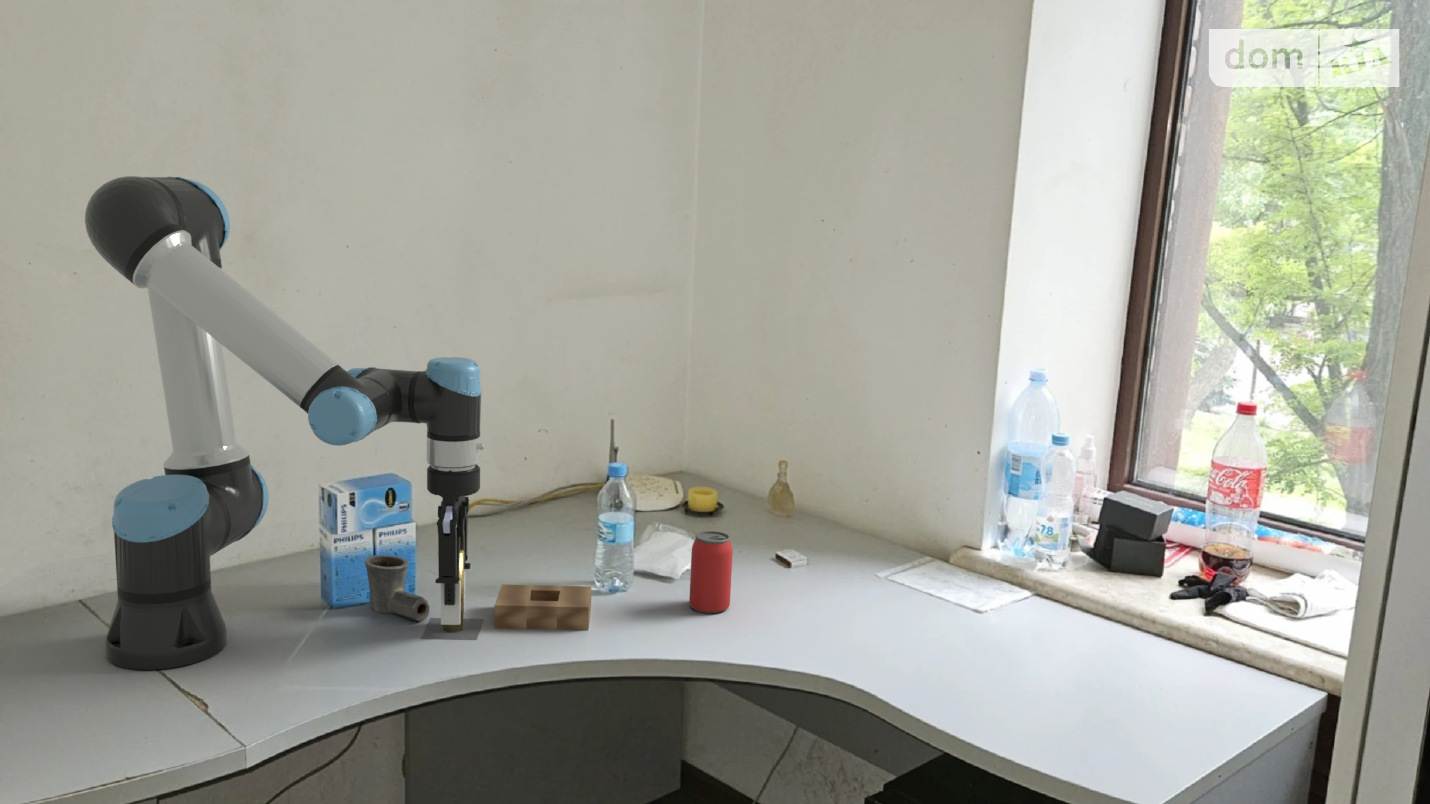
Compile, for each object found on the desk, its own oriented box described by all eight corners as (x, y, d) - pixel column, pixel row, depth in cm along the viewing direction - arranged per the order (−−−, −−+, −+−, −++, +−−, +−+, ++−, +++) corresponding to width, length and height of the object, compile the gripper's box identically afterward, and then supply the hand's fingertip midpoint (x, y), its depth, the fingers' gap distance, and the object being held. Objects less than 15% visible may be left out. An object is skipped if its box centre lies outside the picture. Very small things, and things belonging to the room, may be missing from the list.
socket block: (494, 630, 169) (494, 605, 168) (501, 608, 178) (501, 584, 177) (588, 632, 170) (588, 607, 169) (590, 610, 179) (591, 586, 178)
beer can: (729, 615, 179) (733, 543, 177) (688, 613, 179) (691, 541, 177) (729, 601, 186) (733, 531, 183) (690, 598, 186) (693, 528, 183)
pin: (441, 632, 166) (441, 554, 164) (444, 624, 169) (445, 548, 167) (461, 632, 166) (462, 555, 164) (464, 625, 169) (465, 548, 167)
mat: (420, 641, 164) (420, 638, 164) (430, 620, 171) (430, 618, 171) (476, 642, 164) (476, 639, 164) (483, 621, 172) (483, 619, 172)
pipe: (407, 630, 167) (406, 579, 166) (355, 608, 175) (354, 559, 174) (439, 619, 172) (439, 569, 171) (387, 598, 180) (387, 550, 178)
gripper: (471, 480, 155) (470, 640, 159) (487, 452, 172) (486, 598, 176) (416, 479, 155) (416, 639, 159) (437, 450, 171) (437, 597, 175)
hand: (453, 617), depth 167 cm, fingers open, 4 cm apart
